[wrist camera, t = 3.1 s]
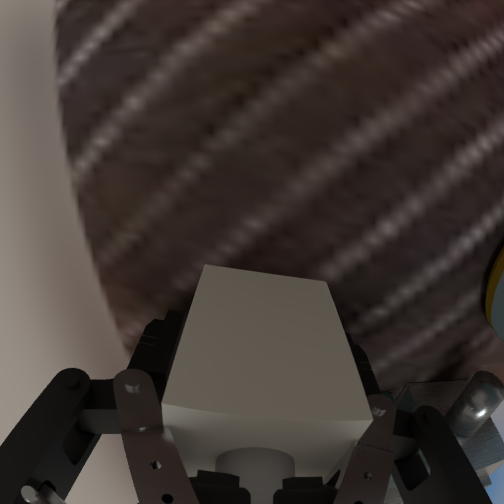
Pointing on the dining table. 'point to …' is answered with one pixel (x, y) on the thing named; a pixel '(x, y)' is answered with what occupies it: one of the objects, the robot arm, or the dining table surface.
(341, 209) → the dining table surface
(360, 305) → the dining table surface
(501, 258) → the bottle
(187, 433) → the white cube with peg
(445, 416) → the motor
